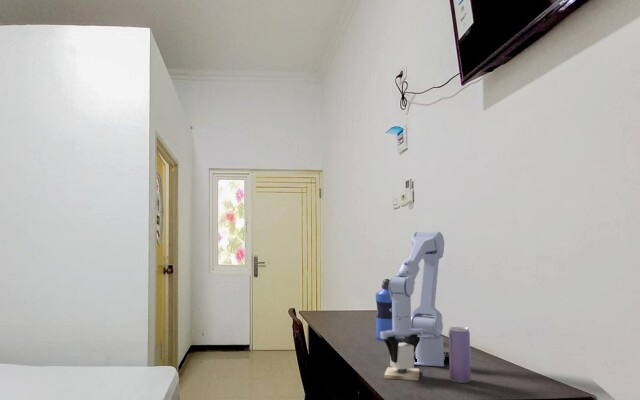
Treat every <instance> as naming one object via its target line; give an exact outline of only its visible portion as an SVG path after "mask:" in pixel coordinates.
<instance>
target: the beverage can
mask: <svg viewBox="0 0 640 400" xmlns="http://www.w3.org/2000/svg"><path fill="white" fill-rule="evenodd" d="M470 335H471V333H470V329H469V328H468V327H464V326H463V327H462V326H453V327H449V331H448V353H449V355H448V356H449V358H448V359H449V360H448V361H449V380H451V382H455V383H457V384H458V383H459V384H464V383H465V384H466V383H469V382H470V381H471V377H472V373H471V370H472V369H471V368H472V366H471V336H470Z"/></svg>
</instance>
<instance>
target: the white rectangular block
mask: <svg viewBox="0 0 640 400" xmlns="http://www.w3.org/2000/svg"><path fill="white" fill-rule="evenodd" d="M414 362H415V353H414V346H413V345H410V344H407V343H406V342H399V344H398V350H397V363H394V362H392V361H391V356H390V355H389V367H395V368H397V369H399V370H400V369H408V368H415V365H414Z"/></svg>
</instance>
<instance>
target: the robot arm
mask: <svg viewBox="0 0 640 400" xmlns="http://www.w3.org/2000/svg"><path fill="white" fill-rule="evenodd" d="M411 245H412V246H411V247H412V248H411V251H410V254H409V257H408V259H405V260H403V262H402V263H401V266H400V267H399V270H398V271H397V273H396V275H395V276H393V277H392V278H390V279H389V280H390V281H389V286H388V289H389V293H390V299H391V300H392V330H388V331H382V332H380V338H382V339H384V341H383V342H384V343H385V345H386V347H387V350H388V352H389V357H390V356H391V361H392V362H394V363H397V350H398V344H399V343H400V341H399V339H398V340H396V339H395V337H398V338H404V340H405V342H404V343H407V344H410V345H413V346H414V354H415V358H416V359H417V362H415V361H414V366H415V365H416V366H429V367H430V366H431V367H432V366H433V367H445V363H444V361H445V358H446V357H445V353H444V337H443V336H441V335H442V333H443V330H444V328H443V327H444V325H443V314H442V313H441V312H440V311H439V310H438V309H437V308H436V307H435V306H436V295H437V284H438V274H439V273H438V272H439V265H440V264H439V263H440V262H439V261H440V259H442V258H443V257H444V251H445V250H444V249H445V238H444V235H443V233H442V232H440V231H437V232H434V231H433V232H418V231H416V232H414V233H413V234H412V237H411ZM422 259H423V268H422V270H423V271H422V278H421V279H422V282H421V292H420V299H419V306H417V307H416V308H415V309H413V311H412V305H411V304H412V303H411V302H412V301H411V300H412V299H411V298H412V295H413V293H414V290H415V283H416V281H415V280H416V278H417V276H418V274H419V271H420V262H421V261H422ZM394 335H395V336H394Z"/></svg>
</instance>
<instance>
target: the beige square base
mask: <svg viewBox="0 0 640 400" xmlns="http://www.w3.org/2000/svg"><path fill="white" fill-rule="evenodd" d="M383 376H384V377H383V378H384V379H389V380H390V379H392V380H405V381H407V380H408V381H419V380H420V368H416V367H414V368H408V369H400V370H399V369H397V368H395V367H392V366H387V368H386V369H385V372H384V375H383Z"/></svg>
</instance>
